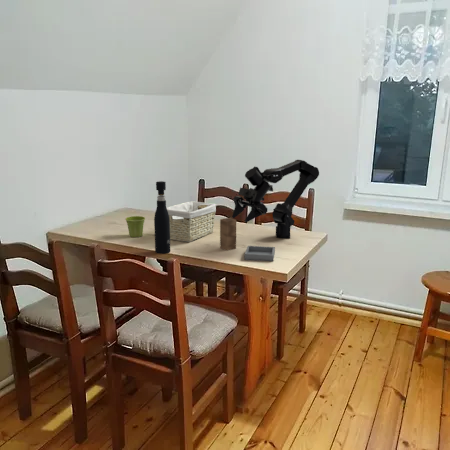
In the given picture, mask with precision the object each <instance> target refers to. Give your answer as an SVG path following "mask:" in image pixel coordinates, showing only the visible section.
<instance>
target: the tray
mask: <svg viewBox="0 0 450 450" xmlns="http://www.w3.org/2000/svg"><path fill="white" fill-rule="evenodd" d="M275 251H276V246H264V245H262V246H261V245H260V246H259V245H258V246H257V245H247V247H246V249H245V252H244V260H245V261H258V262H260V261H261V262H274V258H275V255H276V254H275V253H276V252H275Z"/></svg>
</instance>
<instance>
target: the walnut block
mask: <svg viewBox="0 0 450 450" xmlns="http://www.w3.org/2000/svg"><path fill="white" fill-rule="evenodd" d="M219 225H220V226H219V227H220V228H219V247H220V249H221V250H224V251H226V252H227V251H231V250H236V249H237V219H235V218H232V217H225V218H220V220H219Z"/></svg>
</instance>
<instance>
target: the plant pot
mask: <svg viewBox="0 0 450 450" xmlns="http://www.w3.org/2000/svg"><path fill="white" fill-rule="evenodd" d="M124 220H125V222H126V224H127V229H128V235H129V237H130V238H140V237H142V236H143V233H144V224H145V220H146V217H145V216H140V215H134V216H127V217H126V218H125V219H124Z"/></svg>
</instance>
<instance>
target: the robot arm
mask: <svg viewBox="0 0 450 450" xmlns="http://www.w3.org/2000/svg"><path fill="white" fill-rule="evenodd" d="M295 172H299V178H298V181H297V182H296V184H295V185H294V187H293V188H292V189H291V191H290V193H289V194H288V195H287V197H286V198H285V200H284V201H283V203H277V204H276V205H275V207H274V208H273V209H272V210H273V211H272V219H273V222H274V223H275V224H276V225H277V226H275V236H276V238H277V239H291V227H292V226H294V225H295V220H294V218H293V217H292V215H293V209H294V206H295V205H296V204H297V202H298V200H300V198H301V196H302V195H303V193H304V192H305V190H306V189H307V187H308V185H310V184H313V183H314V182H315V181H316V180H317V179H318V178H319V176H320V171H319V168H318V167H316V166H314V165H312V164H310V163H308V162H307V161H305V160H304V159H295V160H294V161H291V162H289V163H286V164H284V165H282V166H280V167H276V168H275V167H274V168H266V169H265V170H264V171H261V170H260V168H259V167H258V166H254V167H253V168H250V169H249V170H247V171H246V172H245V175H244V177H245V179H247V181H248V182H249V183H250V185H251V186H253V187H254V188H251V187H249V189H248V188H245V187H240V188H239V190H238V195H236V196H234V197H233V199H232V201H233V203H234V209H233V213H232V215H231V218H232V219H235V218H236V217H238V216H239V215H240V214H241V213H242V212H244V211H245V208H247V207H250V208H251V209H250V212H249V213H248V215H246V218H245V220H244V222H245V223H248V222H251V221H252V220H254V219H256V218H258V217H261V216H263V215H266V214H267V212H268V207H267V206H266V205H265V203H263V202H262V201H265V198H264V197H265V196H266V194H267V193H268V192H269V191H270V192H273V191H274V187H273V185H272V184H277V183H279V182H280V181H281V180H282V179H283V178H284V177H285V176H287V175H290V174H293V173H295ZM270 183H271V184H270Z"/></svg>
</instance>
